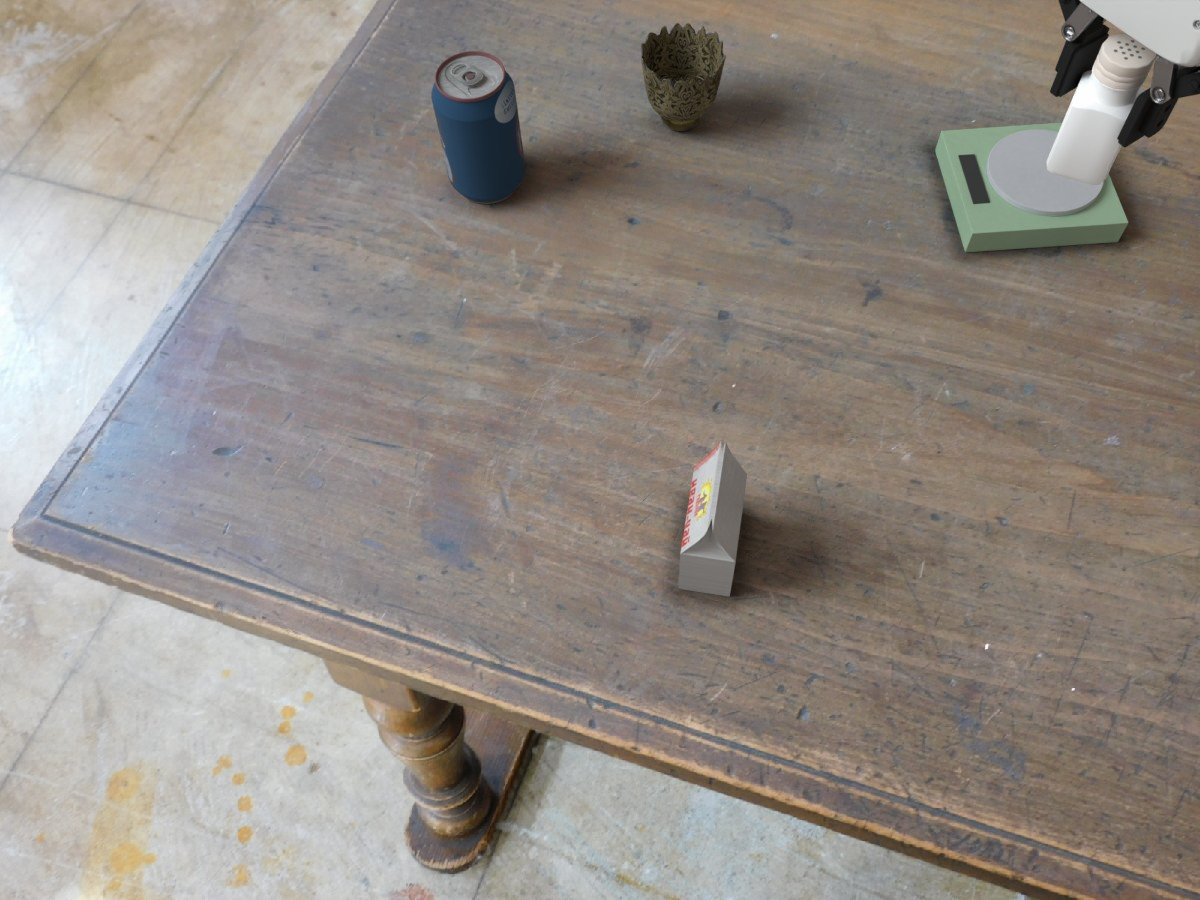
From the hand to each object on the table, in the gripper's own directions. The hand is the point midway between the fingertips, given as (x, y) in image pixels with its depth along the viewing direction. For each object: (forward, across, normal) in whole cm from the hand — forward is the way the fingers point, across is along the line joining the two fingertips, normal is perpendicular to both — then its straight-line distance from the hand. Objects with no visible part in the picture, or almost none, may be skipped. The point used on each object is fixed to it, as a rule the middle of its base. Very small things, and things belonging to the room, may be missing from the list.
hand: (1103, 108), depth 70 cm
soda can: (+21, +38, +28) cm, 51 cm away
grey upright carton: (+21, -3, +34) cm, 40 cm away
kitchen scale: (+21, +8, -10) cm, 24 cm away
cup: (+21, +34, +9) cm, 40 cm away
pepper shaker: (+5, 0, 0) cm, 5 cm away
